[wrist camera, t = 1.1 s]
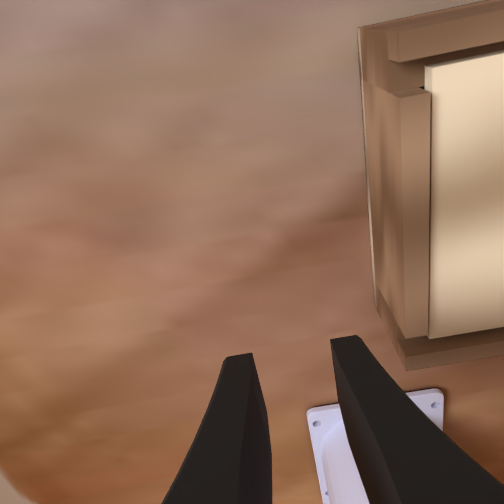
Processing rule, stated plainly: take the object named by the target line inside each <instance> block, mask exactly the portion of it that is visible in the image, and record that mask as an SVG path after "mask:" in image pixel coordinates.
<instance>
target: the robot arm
mask: <svg viewBox="0 0 504 504" xmlns="http://www.w3.org/2000/svg"><path fill="white" fill-rule="evenodd" d="M330 343H331V350H332V358H333V365H334V373H335V380H336V388H337V395H338V402H339V404H333V405H327V406H321V407H314V408H311V409H310V410H308V412H307V419H308V425H309V430H310V435H311V441H312V446H313V451H314V457H315V462H316V467H317V473H318V478H319V483H320V489H321V494H322V499H323V503H324V504H504V485H503V484H502V483H500V482H499V481H498V480H497V479H495V478H494V477H493V476H492V475H491V474H490V473H488V472H487V471H486V470H485V469H484V468H483V467H481V466H480V465H479V464H478V463H477V462H476V461H474V460H473V459H472V458H471V457H470V456H469V455H468V454H466V453H465V452H464V451H463V450H462V449H461V448H460V447H459V446H458V445H457V444H455V443H454V442H453V441H452V440H451V439H450V438H449V437H448V436H447V435H446V434H445V433H444V432H443V410H444V395H443V393H442V392H441V390H440V389H437V388H434V389H427V390H421V391H414V392H408V393H405V392H404V391H403V390H402V389H401V388H400V387H399V386H398V385H397V383H396V382H395V381H394V380H393V379H392V378H391V377H390V375H389V374H388V373H387V372H386V371H385V369H384V368H383V367H382V366H381V365H380V363H379V362H378V361H377V360H376V358H375V357H374V356H373V354H372V353H371V352H370V350H369V349H368V348H367V346H366V345H365V343H364V342H363V340H362V339H361V338H360V337H358V336H357V335H353V336H347V337H341V338H335V339H330ZM161 504H272V453H271V444H270V434H269V426H268V417H267V410H266V406H265V402H264V398H263V394H262V390H261V386H260V382H259V378H258V374H257V370H256V366H255V362H254V358H253V354H252V353H247V354H241V355H235V356H229V357H226V359H225V360H224V361H223V364H222V368H221V371H220V375H219V378H218V381H217V384H216V387H215V389H214V392H213V395H212V397H211V400H210V403H209V405H208V408H207V410H206V413H205V415H204V417H203V420H202V422H201V425H200V427H199V429H198V432H197V434H196V436H195V439H194V441H193V443H192V445H191V447H190V449H189V451H188V453H187V455H186V457H185V459H184V461H183V463H182V466H181V468H180V470H179V472H178V474H177V476H176V478H175V480H174V481H173V483H172V485H171V487H170V489H169V491H168V493H167V494H166V496H165V498H164V500H163V502H162V503H161Z"/></svg>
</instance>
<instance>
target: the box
mask: <svg viewBox="0 0 504 504" xmlns="http://www.w3.org/2000/svg"><path fill="white" fill-rule="evenodd" d="M357 38H358V54H359V69H360V85H361V100H362V116H363V131H364V147H365V162H366V178H367V193H368V209H369V224H370V240H371V255H372V271H373V286H374V302H375V307H376V309H377V311H378V313H379V316H380V318H381V320H382V322H383V324H384V326H385V328H386V330H387V332H388V334H389V336H390V338H391V340H392V342H393V345H394V347H395V349H396V351H397V353H398V355H399V357H400V359H401V361H402V363H403V365H404V367H405V369H406V371H411V370H417V369H423V368H429V367H435V366H441V365H447V364H453V363H460V362H466V361H472V360H478V359H484V358H490V357H496V356H502V355H504V327H500V328H494V329H488V330H482V331H476V332H470V333H464V334H458V335H452V336H446V337H440V338H434V339H429V338H428V336H427V335H428V296H429V197H430V99H431V92H429V91H426V90H425V66H427V65H432V64H437V63H442V62H446V61H451V60H456V59H461V58H466V57H471V56H476V55H480V54H485V53H490V52H495V51H500V50H504V0H485V1H480V2H476V3H471V4H466V5H462V6H457V7H452V8H448V9H443V10H438V11H434V12H429V13H424V14H420V15H415V16H410V17H405V18H401V19H396V20H391V21H387V22H382V23H377V24H373V25H368V26H363V27H359V28H357Z"/></svg>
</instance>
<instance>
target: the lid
mask: <svg viewBox="0 0 504 504" xmlns="http://www.w3.org/2000/svg"><path fill="white" fill-rule="evenodd" d="M425 90H426V91H429V92H431V99H430V197H429V296H428V335H427V336H428V338H429V339H434V338H440V337H446V336H452V335H458V334H464V333H470V332H476V331H482V330H488V329H494V328H500V327H504V50H500V51H495V52H490V53H485V54H480V55H476V56H471V57H466V58H461V59H456V60H451V61H446V62H442V63H437V64H432V65H427V66H425Z"/></svg>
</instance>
